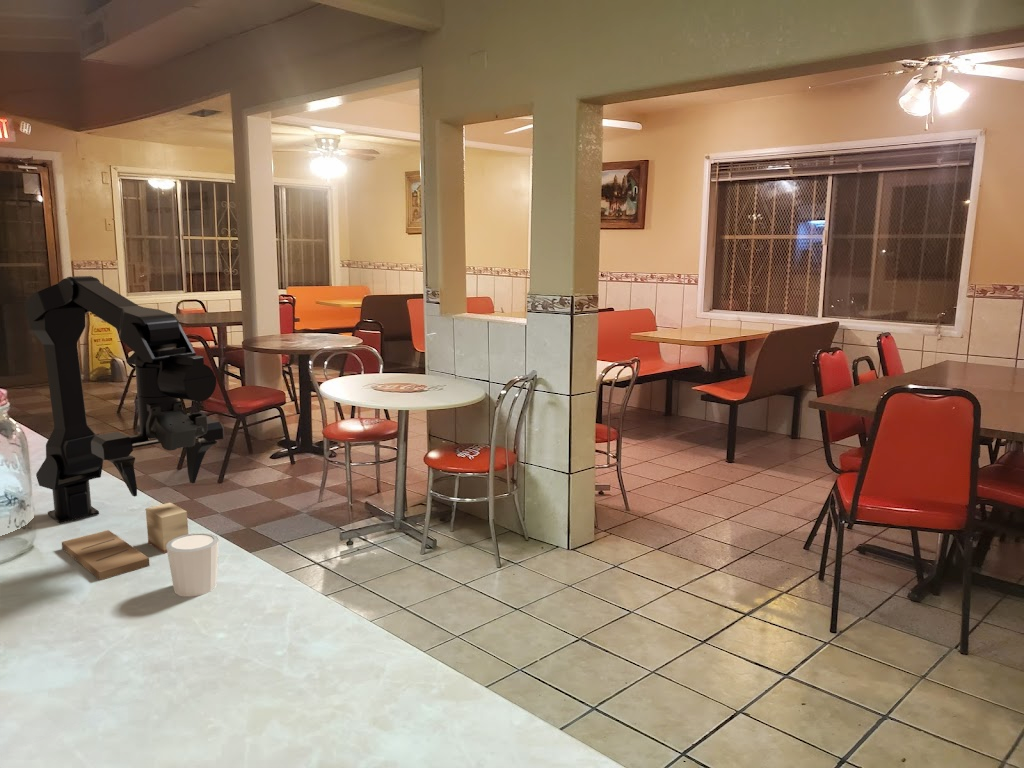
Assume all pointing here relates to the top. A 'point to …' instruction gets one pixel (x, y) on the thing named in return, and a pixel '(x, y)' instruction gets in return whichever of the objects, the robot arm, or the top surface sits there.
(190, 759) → the top surface
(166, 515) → the block
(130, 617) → the top surface
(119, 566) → the board
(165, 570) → the top surface
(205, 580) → the white cup
